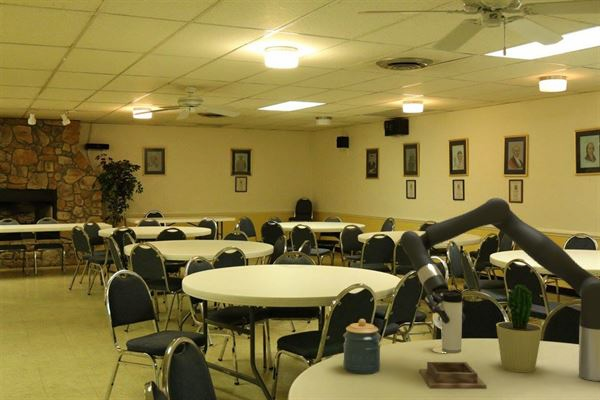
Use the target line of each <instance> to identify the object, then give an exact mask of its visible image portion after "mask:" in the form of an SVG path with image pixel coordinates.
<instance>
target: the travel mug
mask: <svg viewBox="0 0 600 400" xmlns="http://www.w3.org/2000/svg"><path fill="white" fill-rule="evenodd" d="M462 301H463V292H462V291H460V290H458V289H452V290H451V289H450V290H449V291H445V292H443V308H444V310H443V311H445V312H446V314H447V316H448V317H449V319H450V321H449V322H448V323H446V324H445V323H444V322H443V321H442V332H441V344H442V351H443V352H446V353H445V354H460V353H461V352H462V335H463V334H462V333H463V332H462V329H463V327H462V325H463V321H462V311H463V308H462Z"/></svg>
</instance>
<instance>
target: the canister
mask: <svg viewBox="0 0 600 400" xmlns="http://www.w3.org/2000/svg"><path fill="white" fill-rule="evenodd" d="M345 330H346V332H344V333H343V337H344V343H343V360H342V361H343V362H342V364H343V369H344V371H346V372H349V373H353V374H360V375H361V374H362V375H363V374H366V375H368V374H369V375H370V374H374V373H378V372H379V371H380V367H381V347H382V346H381V344H380V339H381V335H380V333H378V331H379V328H378V327H377V326H375V325H374V324H371V323H367V321H366V319H364V318H360V319H359V320H358V322H356V323H351V324H349V325H348V326H346V328H345Z"/></svg>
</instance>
